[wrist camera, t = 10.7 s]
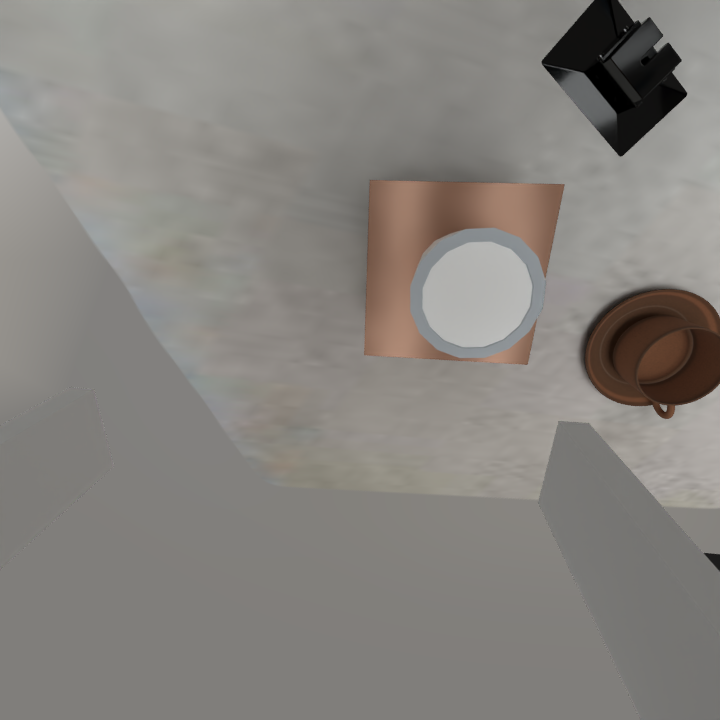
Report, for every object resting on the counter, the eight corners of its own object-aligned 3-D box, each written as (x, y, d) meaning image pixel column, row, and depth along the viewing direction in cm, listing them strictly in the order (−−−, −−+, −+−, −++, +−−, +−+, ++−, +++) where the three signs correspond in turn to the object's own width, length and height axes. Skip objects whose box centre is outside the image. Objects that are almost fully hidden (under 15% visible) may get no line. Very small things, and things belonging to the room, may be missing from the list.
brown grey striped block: (511, 192, 35) (564, 184, 23) (491, 320, 39) (527, 364, 28) (379, 188, 35) (369, 180, 24) (373, 314, 40) (364, 355, 29)
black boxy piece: (699, 101, 31) (751, 84, 27) (616, 179, 34) (650, 175, 29) (600, -33, 29) (638, -77, 24) (518, 62, 31) (538, 39, 27)
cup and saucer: (722, 364, 39) (778, 391, 33) (602, 415, 42) (634, 447, 36) (686, 261, 35) (741, 271, 30) (559, 324, 39) (587, 344, 33)
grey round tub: (493, 331, 27) (522, 369, 21) (398, 315, 27) (397, 348, 21) (522, 231, 25) (567, 239, 18) (417, 214, 25) (424, 216, 18)
